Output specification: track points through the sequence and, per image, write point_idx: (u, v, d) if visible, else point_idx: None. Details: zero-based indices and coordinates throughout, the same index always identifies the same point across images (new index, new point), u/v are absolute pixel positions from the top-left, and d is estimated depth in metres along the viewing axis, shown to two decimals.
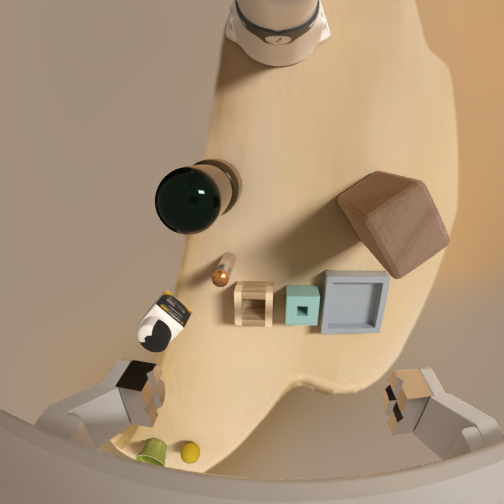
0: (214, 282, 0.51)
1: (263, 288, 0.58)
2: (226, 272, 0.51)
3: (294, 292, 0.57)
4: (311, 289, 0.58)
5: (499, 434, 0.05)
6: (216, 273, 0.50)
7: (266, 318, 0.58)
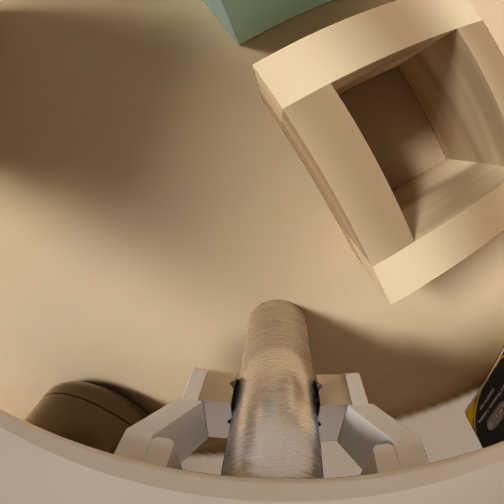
0: None
1: (290, 132, 0.09)
2: None
3: None
4: None
5: (423, 456, 0.06)
6: None
7: (441, 24, 0.05)
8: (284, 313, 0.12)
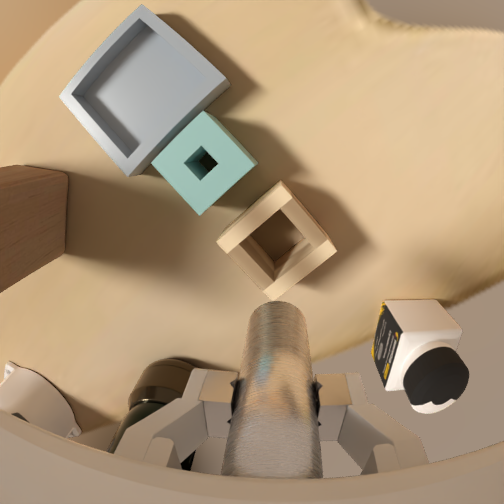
0: None
1: None
2: None
3: None
4: None
5: (423, 455, 0.06)
6: None
7: (273, 210, 0.24)
8: (283, 314, 0.12)
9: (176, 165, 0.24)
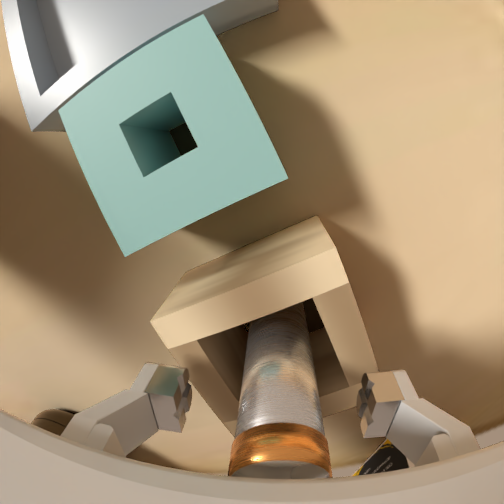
0: None
1: None
2: (231, 454, 0.07)
3: None
4: None
5: (473, 443, 0.06)
6: None
7: (296, 296, 0.10)
8: None
9: (103, 126, 0.09)
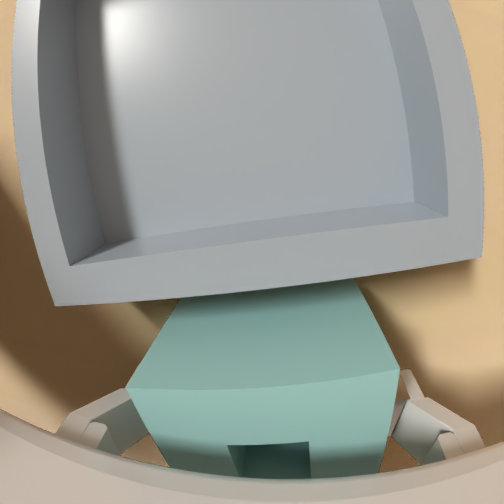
0: None
1: None
2: None
3: None
4: None
5: (479, 441, 0.05)
6: None
7: None
8: None
9: (202, 438, 0.07)
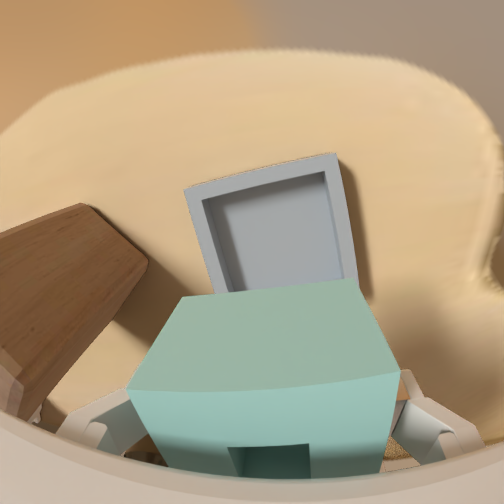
0: None
1: None
2: None
3: None
4: None
5: (478, 441, 0.05)
6: None
7: None
8: None
9: (202, 440, 0.07)
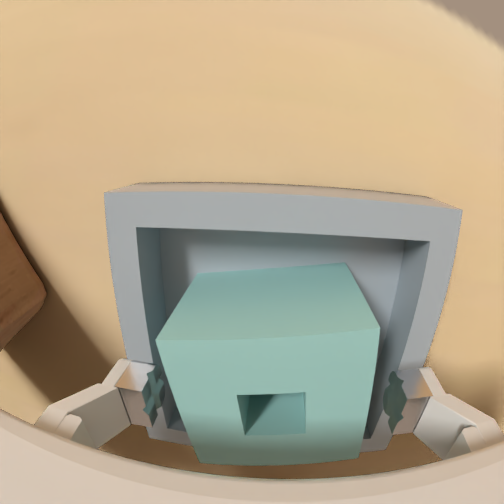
0: None
1: None
2: None
3: None
4: None
5: (499, 434, 0.05)
6: None
7: None
8: None
9: (216, 388, 0.08)
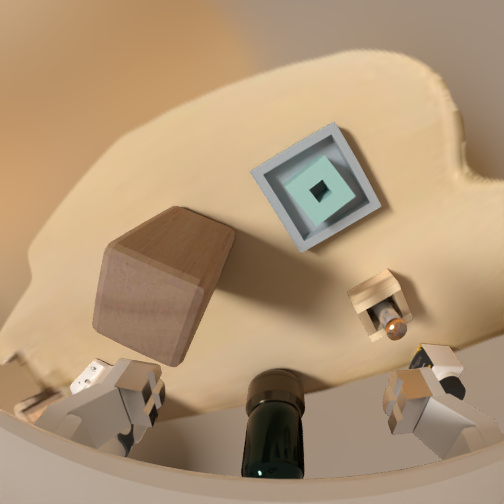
0: (404, 332, 0.36)
1: None
2: (386, 328, 0.37)
3: None
4: None
5: (499, 434, 0.05)
6: (393, 338, 0.36)
7: (389, 294, 0.40)
8: None
9: (303, 191, 0.36)
